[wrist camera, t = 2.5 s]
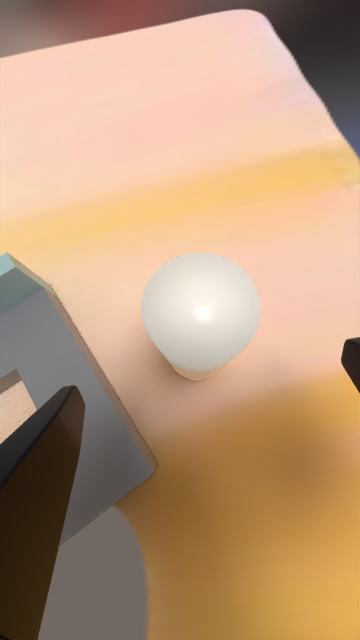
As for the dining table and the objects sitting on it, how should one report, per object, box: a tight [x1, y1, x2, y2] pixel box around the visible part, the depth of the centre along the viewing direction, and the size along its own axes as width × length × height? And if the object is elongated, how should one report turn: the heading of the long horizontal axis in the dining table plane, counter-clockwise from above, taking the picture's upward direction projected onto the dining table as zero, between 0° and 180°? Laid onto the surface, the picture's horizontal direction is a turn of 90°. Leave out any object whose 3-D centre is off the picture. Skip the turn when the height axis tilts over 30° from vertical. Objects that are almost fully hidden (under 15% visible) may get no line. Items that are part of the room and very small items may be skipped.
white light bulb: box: [142, 252, 261, 380], centre depth 14 cm, size 4×4×10 cm
